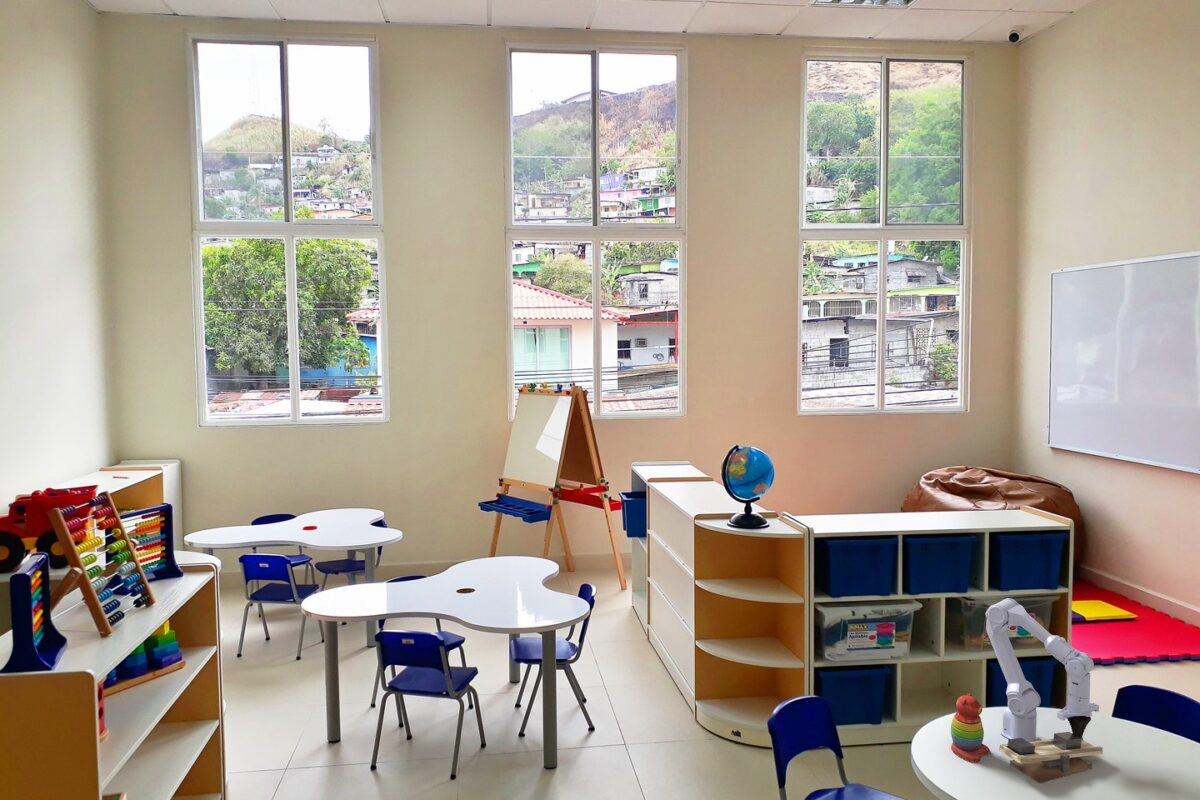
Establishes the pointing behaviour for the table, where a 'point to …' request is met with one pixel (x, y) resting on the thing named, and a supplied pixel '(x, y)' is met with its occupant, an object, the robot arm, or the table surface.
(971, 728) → the stacking bear
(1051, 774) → the beam stand
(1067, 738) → the block
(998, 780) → the table surface
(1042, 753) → the balance beam
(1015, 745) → the block
